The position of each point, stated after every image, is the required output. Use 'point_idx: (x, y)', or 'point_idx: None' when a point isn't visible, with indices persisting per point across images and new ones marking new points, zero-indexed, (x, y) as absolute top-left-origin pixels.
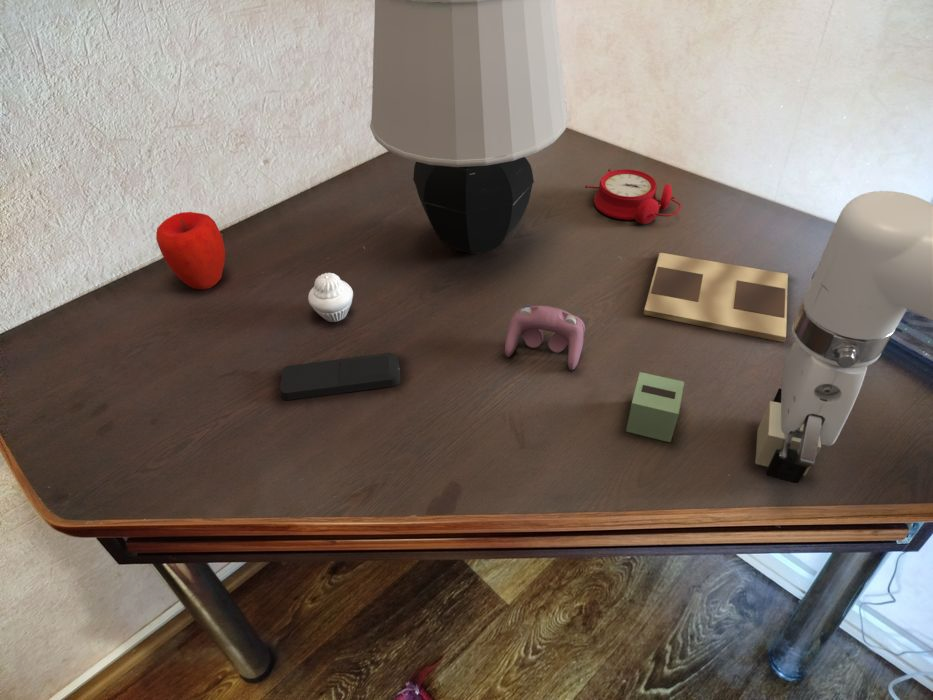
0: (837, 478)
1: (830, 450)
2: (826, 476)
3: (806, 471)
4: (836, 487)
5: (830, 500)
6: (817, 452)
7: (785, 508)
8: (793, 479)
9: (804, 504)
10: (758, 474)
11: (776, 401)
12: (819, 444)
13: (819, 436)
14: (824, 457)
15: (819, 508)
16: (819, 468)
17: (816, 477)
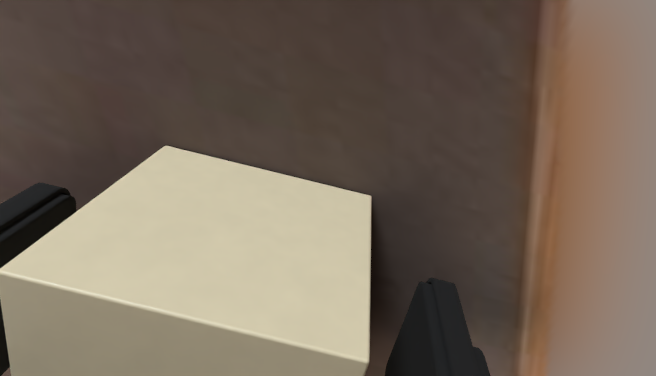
0: (374, 49)
1: (195, 35)
2: (365, 100)
3: (370, 215)
4: (430, 70)
5: (507, 120)
6: (368, 318)
7: (534, 302)
8: (482, 357)
9: (521, 233)
10: (373, 347)
11: (1, 374)
12: (343, 366)
13: (259, 340)
14: (248, 78)
15: (547, 180)
16: (319, 120)
17: (374, 148)
